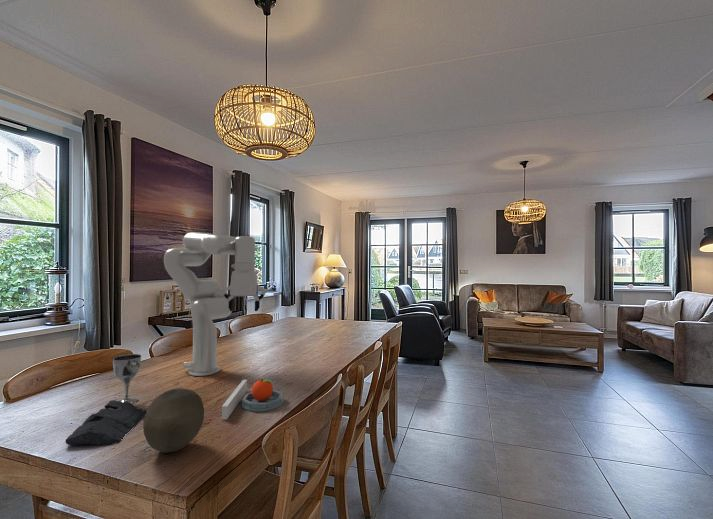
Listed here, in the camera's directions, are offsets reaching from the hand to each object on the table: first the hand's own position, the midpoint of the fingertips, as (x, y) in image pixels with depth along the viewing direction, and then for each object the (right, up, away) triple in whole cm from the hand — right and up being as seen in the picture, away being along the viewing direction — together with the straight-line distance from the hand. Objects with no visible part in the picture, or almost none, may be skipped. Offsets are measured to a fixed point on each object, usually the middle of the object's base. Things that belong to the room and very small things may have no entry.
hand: (244, 310), depth 138 cm
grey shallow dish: (+13, -28, -21) cm, 37 cm away
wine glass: (-33, -28, -20) cm, 48 cm away
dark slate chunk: (-26, -28, -39) cm, 55 cm away
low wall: (+4, -28, -21) cm, 35 cm away
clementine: (+13, -28, -20) cm, 37 cm away
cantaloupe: (-1, -28, -50) cm, 58 cm away
